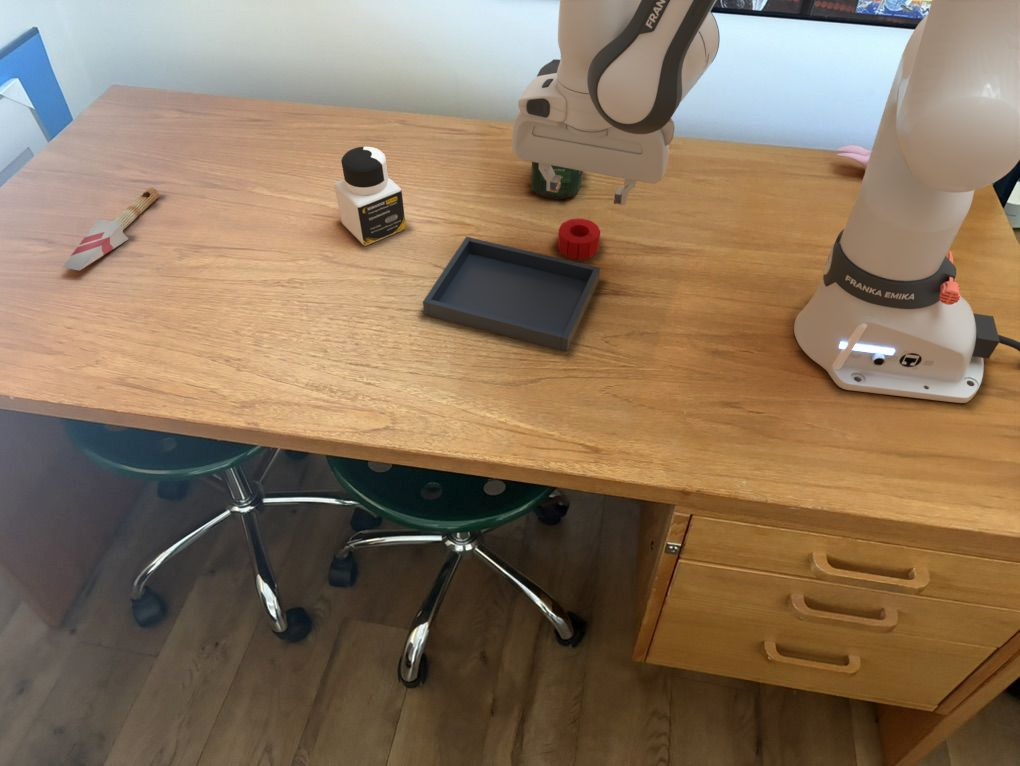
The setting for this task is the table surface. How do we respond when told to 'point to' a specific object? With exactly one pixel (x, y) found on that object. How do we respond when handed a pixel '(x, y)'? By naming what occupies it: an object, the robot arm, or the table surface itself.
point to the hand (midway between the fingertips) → (586, 195)
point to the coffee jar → (568, 176)
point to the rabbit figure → (856, 154)
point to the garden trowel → (108, 233)
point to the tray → (513, 293)
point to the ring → (578, 238)
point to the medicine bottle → (369, 196)
